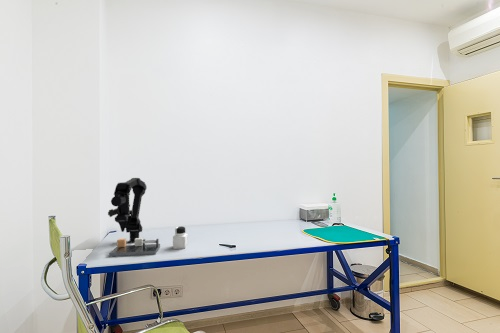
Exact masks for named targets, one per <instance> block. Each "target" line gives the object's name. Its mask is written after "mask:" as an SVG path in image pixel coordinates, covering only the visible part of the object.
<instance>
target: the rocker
mask: <svg viewBox="0 0 500 333" xmlns="http://www.w3.org/2000/svg"><path fill="white" fill-rule="evenodd" d="M143 243H145V244H156V240H155V239H153V240H145V241H143Z"/></svg>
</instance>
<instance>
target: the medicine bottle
mask: <svg viewBox="0 0 500 333" xmlns="http://www.w3.org/2000/svg"><path fill="white" fill-rule="evenodd" d="M187 246H188V233H186V227H185V226H176V227H175V228H174V235H173V236H172V250H173V249H175V250H178V249H180V250H182V249H186V248H187Z"/></svg>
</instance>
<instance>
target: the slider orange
mask: <svg viewBox="0 0 500 333" xmlns="http://www.w3.org/2000/svg"><path fill="white" fill-rule="evenodd" d="M126 245H127V238H118V239H117V244H116V247H125V246H126Z"/></svg>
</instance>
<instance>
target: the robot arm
mask: <svg viewBox="0 0 500 333" xmlns="http://www.w3.org/2000/svg"><path fill="white" fill-rule="evenodd" d="M146 190H147V184H146V183H145V182H144V181H143V180H141V178H139V177H131V179H129V180H127V181H125V182H117V184H116V186H115V189H114V193H113V195H114V196H113V197H112V198H111V200H110V204H111V205H112V206H113V207H117V208H114V209H113V208H111V209H109V210H108V212H107V215H108V216H109V218H111V217H113V216H115V217H114V222H116V223H118V224H119V227H120V231H121V232H122V233H124V232H125V231H126V233H129V240H128V241H127V243H135V239H136V238H140V233H143V225H142V224H141V220H140V217H139V216H140V211H141V210H140V209H141V204H142V199H143V196H144V195H145V194H146ZM131 191H132V193H133V201H132V208H131V209H130V207H131V204H130V195H131Z"/></svg>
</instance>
